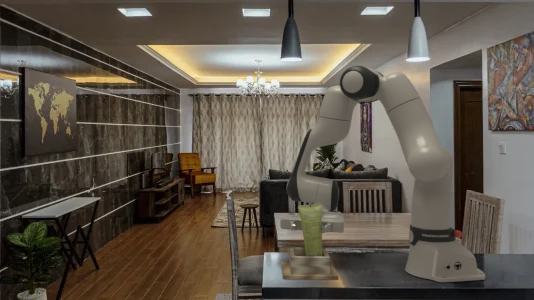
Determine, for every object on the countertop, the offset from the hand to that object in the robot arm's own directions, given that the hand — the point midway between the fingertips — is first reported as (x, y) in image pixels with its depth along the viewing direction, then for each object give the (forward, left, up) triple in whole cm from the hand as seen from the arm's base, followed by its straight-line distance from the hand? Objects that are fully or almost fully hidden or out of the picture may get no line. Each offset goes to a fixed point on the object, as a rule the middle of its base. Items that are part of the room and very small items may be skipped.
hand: (308, 228), depth 130 cm
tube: (-2, 0, -12) cm, 13 cm away
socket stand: (0, -1, -13) cm, 14 cm away
